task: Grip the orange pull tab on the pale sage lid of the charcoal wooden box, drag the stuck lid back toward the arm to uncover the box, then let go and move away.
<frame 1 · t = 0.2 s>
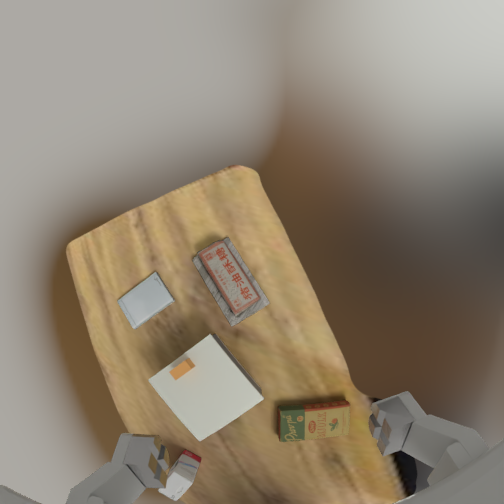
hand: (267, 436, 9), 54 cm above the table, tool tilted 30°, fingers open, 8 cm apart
lid flap: (202, 392, 49), point 10 cm above the table, slide at 0.0 cm
charcoal box: (210, 381, 59), on the table
hard drive: (146, 301, 64), on the table
carton: (312, 418, 57), on the table
ink box: (186, 463, 54), on the table
packaged product: (230, 281, 65), on the table
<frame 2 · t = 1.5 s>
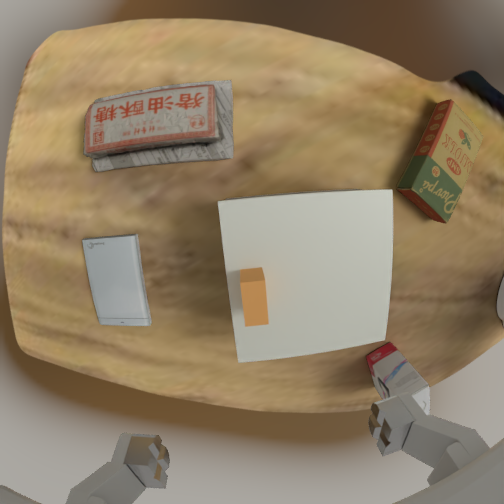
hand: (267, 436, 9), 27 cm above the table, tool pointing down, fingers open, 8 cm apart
lid flap: (319, 286, 25), point 10 cm above the table, slide at 0.0 cm
hard drive: (119, 279, 36), on the table
carton: (435, 160, 33), on the table
ink box: (383, 364, 41), on the table
packaged product: (160, 126, 31), on the table
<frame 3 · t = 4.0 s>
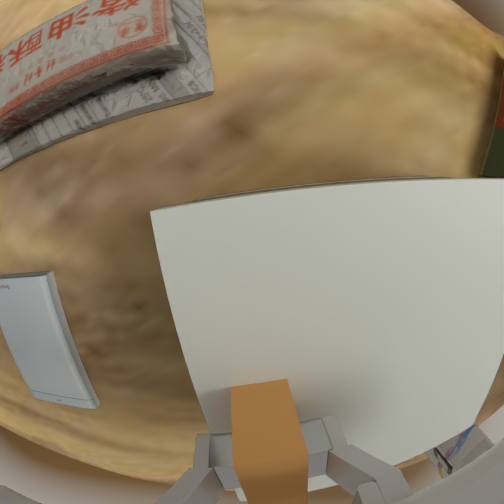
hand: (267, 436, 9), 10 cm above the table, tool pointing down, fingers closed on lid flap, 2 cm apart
lid flap: (416, 402, 9), point 10 cm above the table, slide at 0.0 cm, touching gripper
charcoal box: (337, 302, 19), on the table
hard drive: (44, 339, 19), on the table
ink box: (434, 420, 25), on the table
packaged product: (82, 72, 14), on the table
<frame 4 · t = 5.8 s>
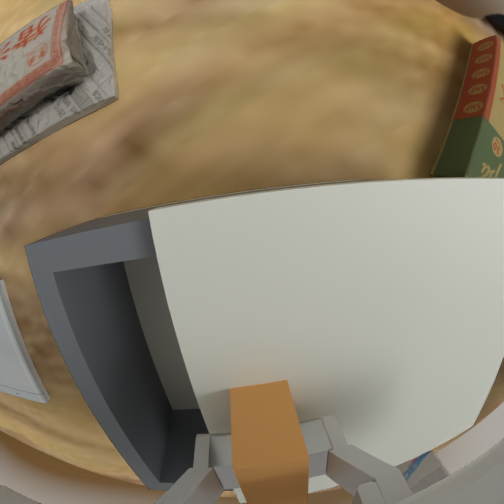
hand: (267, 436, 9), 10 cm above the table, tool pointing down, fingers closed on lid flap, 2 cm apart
lid flap: (417, 403, 9), point 10 cm above the table, slide at 6.1 cm, touching gripper
charcoal box: (247, 318, 18), on the table
hard drive: (3, 338, 18), on the table
carton: (480, 130, 17), on the table
ink box: (393, 439, 24), on the table
packaged product: (20, 97, 14), on the table
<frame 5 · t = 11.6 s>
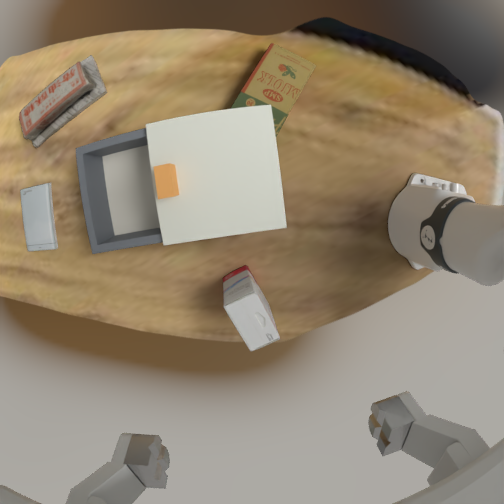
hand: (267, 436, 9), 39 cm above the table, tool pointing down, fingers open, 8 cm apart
lid flap: (214, 173, 34), point 10 cm above the table, slide at 12.1 cm
charcoal box: (146, 187, 44), on the table
hard drive: (40, 217, 44), on the table
carton: (268, 97, 42), on the table
ink box: (247, 290, 49), on the table
packaged product: (64, 102, 39), on the table
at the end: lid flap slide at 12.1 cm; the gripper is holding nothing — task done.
